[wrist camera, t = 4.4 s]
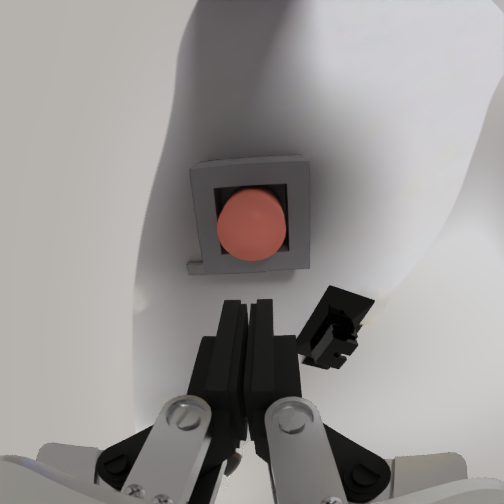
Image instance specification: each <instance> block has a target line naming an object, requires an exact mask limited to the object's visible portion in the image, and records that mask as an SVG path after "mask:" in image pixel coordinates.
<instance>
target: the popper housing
mask: <svg viewBox="0 0 504 504" xmlns="http://www.w3.org/2000/svg"><path fill="white" fill-rule="evenodd" d="M189 171H190V179H191V187H192V194H193V201H194V209H195V216H196V222H197V229H198V235H199V242H200V248H201V254H202V260H203V266H204V272H205V273H224V272H248V271H270V270H291V269H310V189H309V161H308V160H307V159H306V158H305V157H304V156H302V155H280V156H261V157H246V158H234V159H222V160H212V161H203V162H200V163H199V164H197V165H195V166H194V167H192V168H190V169H189ZM250 185H264V186H267V187H268V188H270V189H272V190H273V191H274V192H275V193H276V194H277V196H278V197H279V199H280V201H281V203H282V208H283V213H284V219H285V224H286V234H285V238H284V241H283V243H282V245H281V247H280V248H279V249H278V250H277V251H276V252H275V253H274V254H273V255H271V256H270V257H268V258H265V259H263V260H259V261H246V260H241V259H239V258H236V257H234V256H233V255H231V254H230V253H229V252H227V251H226V250H225V248H224V247H223V246H222V244H221V242H220V240H219V238H218V234H217V223H218V219H219V216H220V214H221V212H222V210H223V208H224V206H225V204H226V202H227V200H228V198H229V196H230V195H231V194H232V193H233V192H234V191H235V190H236V189H237V188H239V187H241V186H250Z"/></svg>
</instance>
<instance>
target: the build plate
mask: <svg viewBox="0 0 504 504" xmlns="http://www.w3.org/2000/svg"><path fill="white" fill-rule="evenodd" d="M374 302H375V300H372V299H369V298H366V297H363V296H360V295H358V294H355V293H352V292H349V291H346V290H343V289H340V288H337V287H334V286H331V285H330V286H329V287H328V288H327V290H326V292H325V293H324V295H323V297H322V298H321V300H320V302H319V303H318V305H317V307H316V308H315V310H314V312H313V313H312V315H311V317H310V318H309V320H308V321H307V323H306V325H305V326H304V328H303V329H302V331H301V333H300V334H299V336H298V337H297V339H296V343H297V352H298V354H301V355H304V356H305V358H304V359H303V361H302V363H301V364H305V365H309V366H313V367H317V368H321V369H325V370H328V369H329V368H330V367H332V368H336V369H340V367H341V366H342V365H343V364H344V363H345V361H346V360H347V359H346V357H345V356H341V354H345V355H349V356H350V355H351V354H352V353H353V352H354V350H355V349H356V348H357V347H358V343H357V340H356V339H357V337H358V336H357V333H358V331H359V330H360V329H361V327H362V326H363V325H362V324H360V322H361V321H362V319H363V318H364V317H365V315H366V314H367V312H368V311H369V309H370V308H371V307H372V305H373V304H374Z"/></svg>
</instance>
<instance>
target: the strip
mask: <svg viewBox="0 0 504 504" xmlns="http://www.w3.org/2000/svg"><path fill="white" fill-rule="evenodd" d="M187 269H188V274H189V275H205V274H232V273H256V272H265V271H248V272H224V273H205V272H204V266H203V262H188V264H187Z"/></svg>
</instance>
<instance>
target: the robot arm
mask: <svg viewBox="0 0 504 504" xmlns="http://www.w3.org/2000/svg"><path fill="white" fill-rule="evenodd" d="M248 425H249V431H250V438H251V441H254V443H255V450H256V454H257V455H258V456H259V457H260V458H262V459H263V460H264V461H265V462H267V463H268V470H269V475H270V482H271V488H272V494H273V500H274V504H504V482H503V481H501V480H498V479H494V478H471V479H468V478H467V466H466V462H465V460H464V459H463V457H462V456H461V455H459V454H457V453H450V452H448V453H441V454H431V455H421V456H420V455H419V456H406V457H405V456H403V457H395V458H394V459H382V458H381V457H380V456H378V455H376V454H374V453H372V452H371V451H369V450H367V449H365V448H364V447H362V446H360V445H358V444H356V443H355V442H353V441H351V440H350V439H348V438H346V437H345V436H343V435H341V434H340V433H338V432H336V431H335V430H333V429H332V428H330V427H328V426H327V425H325V424H324V423H323V422H322V420H321V416H320V413H319V411H318V409H317V407H316V406H315V405H314V404H313V403H312V402H311V401H309V400H306V399H304V398H302V394H301V383H300V372H299V362H298V352H297V343H296V336H295V335H283V336H274V333H273V300H272V299H257V304H251V309H250V320H249V324H248V313H247V304H241V301H240V300H225V301H224V304H223V308H222V313H221V317H220V322H219V326H218V331H217V335H216V336H203V338H202V340H201V343H200V347H199V351H198V354H197V358H196V362H195V365H194V369H193V373H192V376H191V380H190V384H189V388H188V391H187V395H183V396H178V397H176V398H173V399H171V400H170V401H169V402H167V403H166V404H165V406H164V407H163V408H162V410H161V412H160V414H159V416H158V418H157V420H156V422H155V424H154V425H152V426H150V427H148V428H146V429H145V430H143V431H141V432H139V433H137V434H135V435H133V436H131V437H129V438H127V439H125V440H123V441H121V442H119V443H117V444H115V445H113V446H111V447H109V448H107V449H106V450H99V449H98V448H94V447H83V446H74V445H66V444H58V443H47V444H45V445H43V446H42V447H41V448H40V450H39V452H38V455H37V459H36V460H33V459H30V458H26V457H22V456H16V455H3V456H0V504H214V502H215V499H216V496H217V493H218V490H219V487H220V484H221V480H222V477H223V474H224V471H225V467H226V464H227V459H228V458H229V457H231V456H232V455H234V454H235V453H236V448H240V441H246V438H247V426H248Z"/></svg>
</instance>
